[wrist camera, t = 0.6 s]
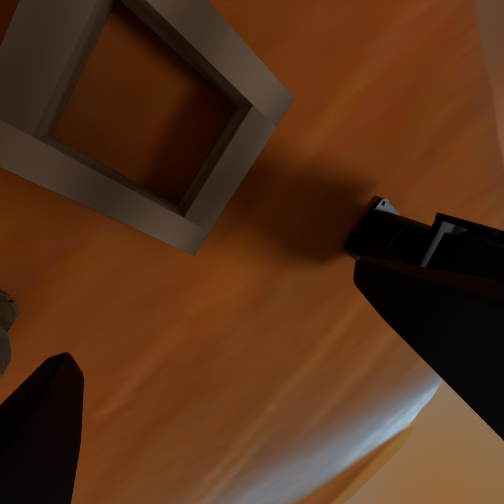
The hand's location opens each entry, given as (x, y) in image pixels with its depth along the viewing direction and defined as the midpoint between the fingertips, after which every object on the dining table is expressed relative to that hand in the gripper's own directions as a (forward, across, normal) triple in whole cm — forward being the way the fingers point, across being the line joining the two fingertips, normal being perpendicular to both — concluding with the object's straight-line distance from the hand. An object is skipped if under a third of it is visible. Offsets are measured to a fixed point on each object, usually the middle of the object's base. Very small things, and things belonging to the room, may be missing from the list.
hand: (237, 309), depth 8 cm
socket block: (+13, +1, -6) cm, 14 cm away
